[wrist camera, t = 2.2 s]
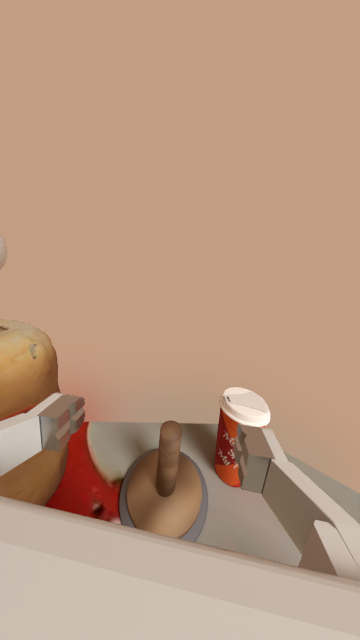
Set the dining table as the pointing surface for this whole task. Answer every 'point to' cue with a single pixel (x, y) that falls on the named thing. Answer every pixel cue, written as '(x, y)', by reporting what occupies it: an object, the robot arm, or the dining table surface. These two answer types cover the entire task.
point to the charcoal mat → (200, 520)
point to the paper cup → (234, 411)
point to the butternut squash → (29, 407)
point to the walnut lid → (165, 488)
